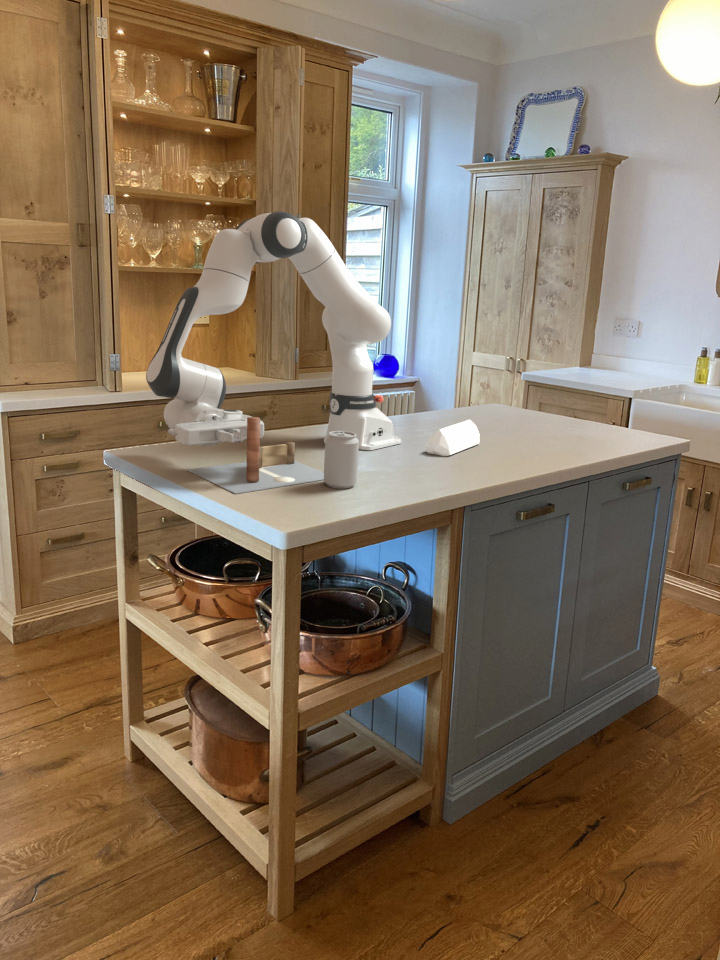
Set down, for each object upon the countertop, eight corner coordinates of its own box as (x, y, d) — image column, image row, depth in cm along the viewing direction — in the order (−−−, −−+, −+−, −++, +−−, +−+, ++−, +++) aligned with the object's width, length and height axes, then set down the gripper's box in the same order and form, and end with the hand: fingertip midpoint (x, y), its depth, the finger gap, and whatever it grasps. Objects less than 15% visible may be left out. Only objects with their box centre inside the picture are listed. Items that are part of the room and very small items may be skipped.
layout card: (284, 457, 196) (284, 456, 196) (337, 477, 180) (337, 477, 179) (186, 470, 179) (187, 469, 179) (235, 494, 163) (235, 493, 163)
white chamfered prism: (453, 445, 202) (489, 432, 222) (433, 428, 205) (471, 416, 224) (439, 467, 206) (475, 451, 226) (419, 450, 208) (457, 436, 228)
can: (327, 490, 170) (329, 436, 166) (320, 480, 176) (322, 429, 173) (360, 489, 172) (363, 436, 168) (351, 480, 178) (354, 429, 175)
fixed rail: (290, 461, 191) (291, 441, 190) (296, 463, 190) (296, 443, 188) (249, 466, 184) (249, 446, 183) (254, 469, 182) (254, 448, 181)
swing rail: (249, 467, 182) (250, 409, 178) (261, 468, 182) (262, 409, 179) (245, 481, 171) (246, 419, 167) (258, 481, 171) (259, 419, 167)
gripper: (164, 416, 170) (193, 428, 159) (245, 409, 182) (277, 420, 172) (164, 444, 171) (194, 457, 161) (245, 435, 184) (276, 447, 174)
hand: (237, 438), depth 167 cm, fingers closed
